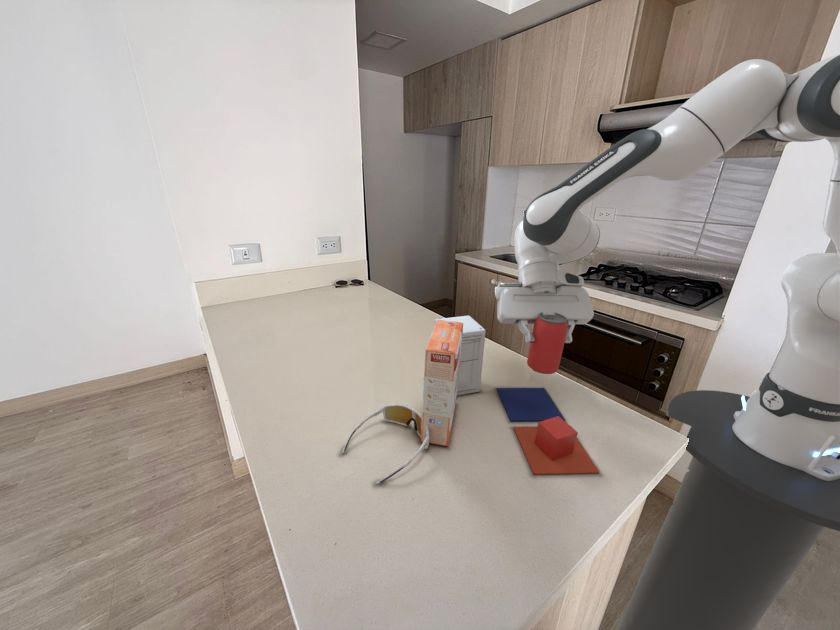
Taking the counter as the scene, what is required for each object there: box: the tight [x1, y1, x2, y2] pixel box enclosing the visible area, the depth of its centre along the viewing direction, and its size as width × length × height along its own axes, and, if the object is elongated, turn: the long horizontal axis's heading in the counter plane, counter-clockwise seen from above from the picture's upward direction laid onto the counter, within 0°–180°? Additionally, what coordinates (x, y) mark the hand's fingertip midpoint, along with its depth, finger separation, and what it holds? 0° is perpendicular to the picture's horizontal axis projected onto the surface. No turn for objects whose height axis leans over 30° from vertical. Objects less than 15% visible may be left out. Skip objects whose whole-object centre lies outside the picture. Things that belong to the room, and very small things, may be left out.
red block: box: [535, 416, 579, 460], centre depth 65 cm, size 5×5×5 cm
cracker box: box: [420, 320, 463, 447], centre depth 69 cm, size 14×6×21 cm, turn 168°
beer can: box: [526, 312, 568, 375], centre depth 72 cm, size 7×7×12 cm
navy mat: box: [496, 387, 566, 423], centre depth 79 cm, size 12×12×1 cm
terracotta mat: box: [513, 426, 600, 476], centre depth 66 cm, size 12×12×1 cm
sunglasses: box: [341, 402, 430, 484], centre depth 65 cm, size 14×15×5 cm
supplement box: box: [434, 314, 487, 397], centre depth 82 cm, size 10×9×17 cm
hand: (549, 342), depth 71 cm, fingers closed on beer can, 6 cm apart
